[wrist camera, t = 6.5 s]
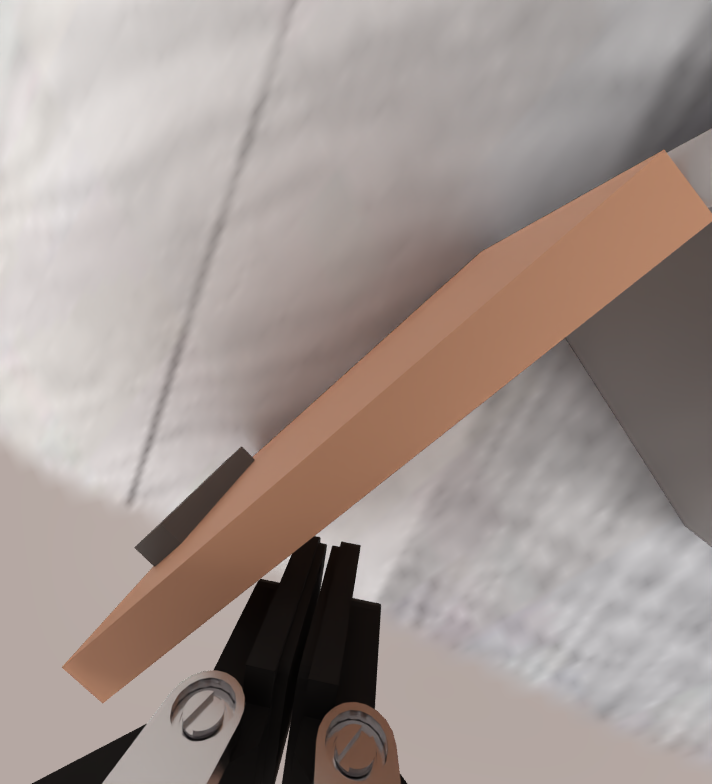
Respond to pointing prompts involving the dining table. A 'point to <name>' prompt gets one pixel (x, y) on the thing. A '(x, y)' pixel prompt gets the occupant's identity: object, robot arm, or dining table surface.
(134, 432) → the dining table surface
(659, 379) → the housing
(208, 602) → the door
